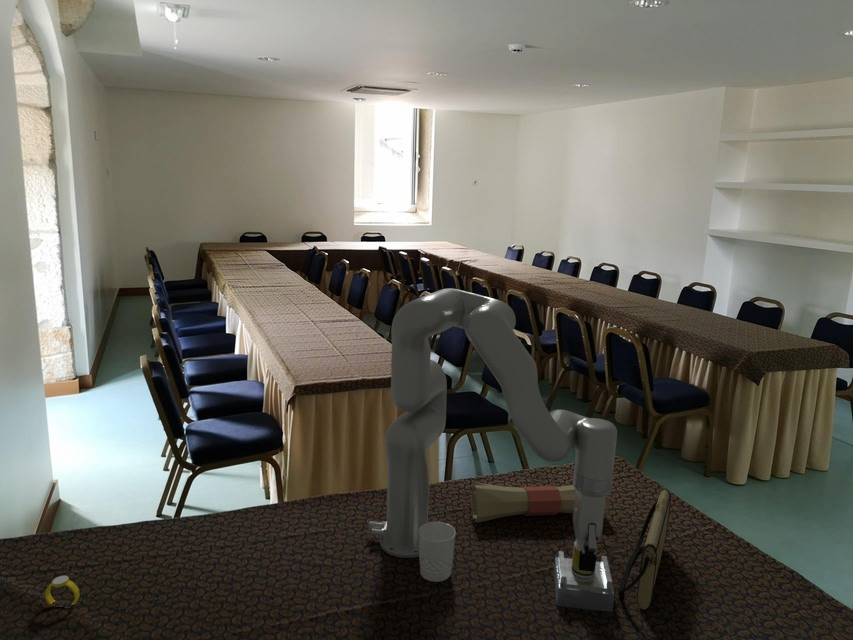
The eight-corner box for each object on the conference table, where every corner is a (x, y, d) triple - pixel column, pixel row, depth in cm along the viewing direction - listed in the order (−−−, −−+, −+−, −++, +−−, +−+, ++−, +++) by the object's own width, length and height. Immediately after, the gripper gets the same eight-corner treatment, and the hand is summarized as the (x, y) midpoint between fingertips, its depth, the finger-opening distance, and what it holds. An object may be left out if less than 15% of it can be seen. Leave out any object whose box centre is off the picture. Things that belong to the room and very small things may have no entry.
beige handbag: (635, 537, 157) (642, 480, 154) (665, 545, 154) (673, 487, 151) (612, 608, 131) (619, 541, 128) (648, 619, 128) (657, 551, 125)
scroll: (612, 521, 161) (609, 479, 163) (478, 526, 157) (477, 483, 158) (596, 515, 171) (593, 476, 173) (470, 520, 167) (469, 480, 169)
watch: (45, 612, 125) (39, 584, 124) (53, 602, 128) (47, 576, 127) (76, 610, 125) (71, 583, 124) (83, 601, 128) (78, 574, 127)
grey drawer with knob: (556, 605, 131) (558, 578, 130) (553, 565, 145) (555, 540, 143) (612, 612, 130) (615, 585, 129) (603, 570, 143) (606, 545, 142)
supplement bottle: (595, 580, 132) (599, 543, 131) (571, 577, 133) (575, 540, 131) (594, 567, 137) (597, 531, 135) (571, 563, 138) (574, 527, 136)
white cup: (422, 586, 136) (424, 543, 134) (413, 564, 143) (414, 523, 141) (458, 581, 138) (460, 538, 136) (447, 560, 146) (449, 519, 143)
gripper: (570, 460, 139) (563, 535, 143) (577, 499, 122) (569, 583, 126) (606, 463, 138) (598, 539, 142) (618, 503, 121) (609, 588, 125)
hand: (584, 559), depth 134 cm, fingers open, 6 cm apart
